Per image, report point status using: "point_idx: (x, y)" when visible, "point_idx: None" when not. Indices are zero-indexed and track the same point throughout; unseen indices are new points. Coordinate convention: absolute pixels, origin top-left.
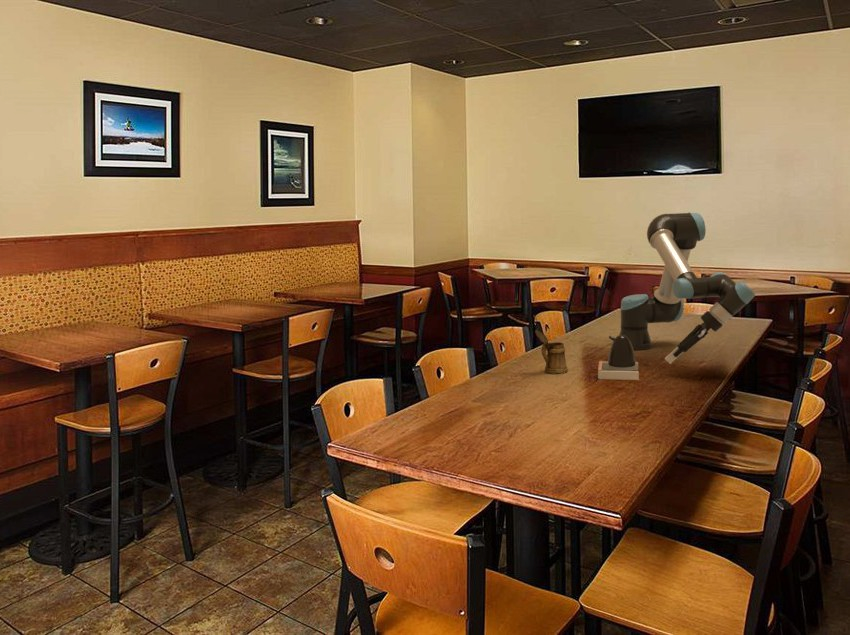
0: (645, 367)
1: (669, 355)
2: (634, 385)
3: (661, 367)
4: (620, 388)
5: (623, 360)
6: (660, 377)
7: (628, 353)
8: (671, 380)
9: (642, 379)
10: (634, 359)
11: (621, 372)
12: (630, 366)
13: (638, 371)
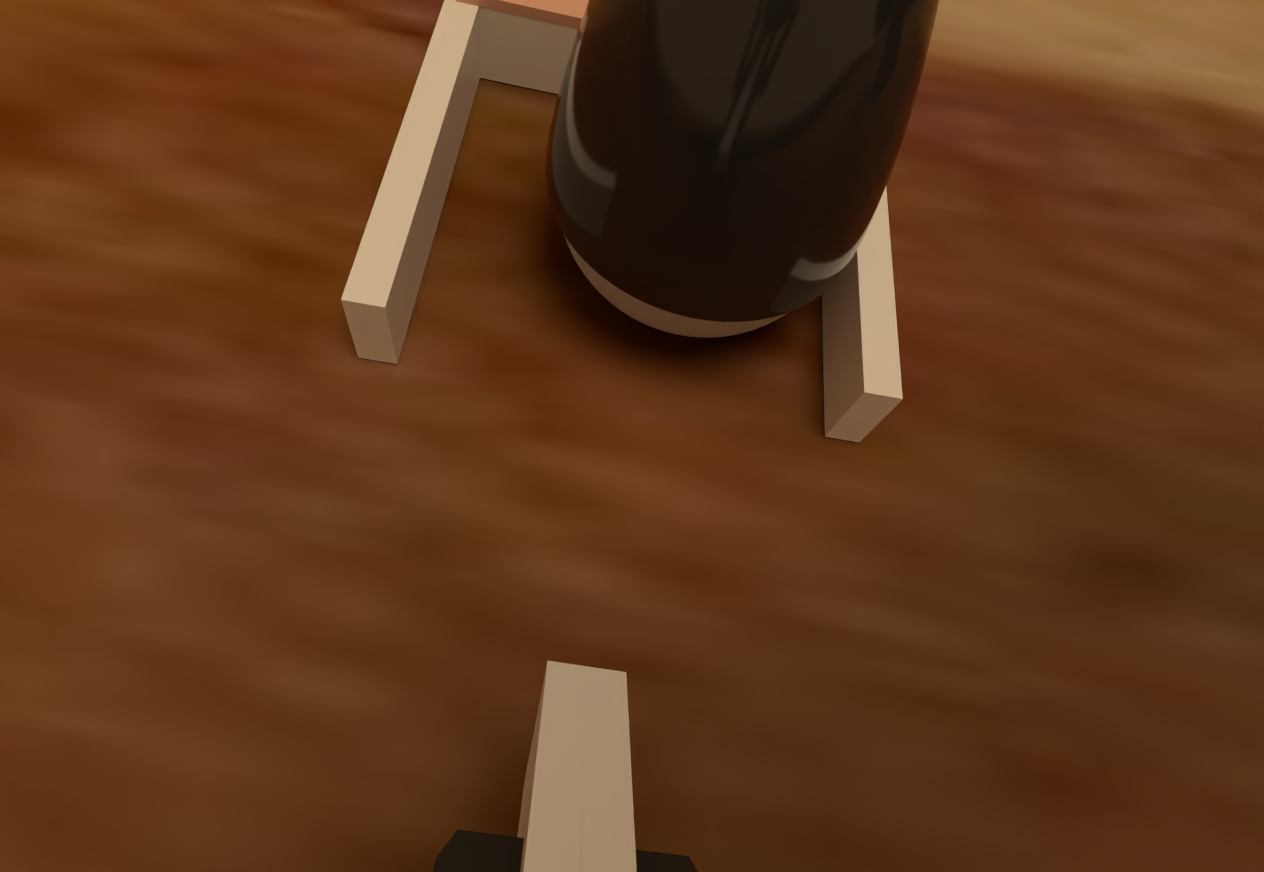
0: (996, 546)
1: (539, 748)
2: (109, 270)
3: (1042, 750)
4: (18, 130)
5: (559, 105)
6: (468, 633)
7: (603, 81)
8: (265, 761)
9: (386, 401)
10: (658, 244)
11: (395, 148)
12: (568, 241)
13: (382, 303)
